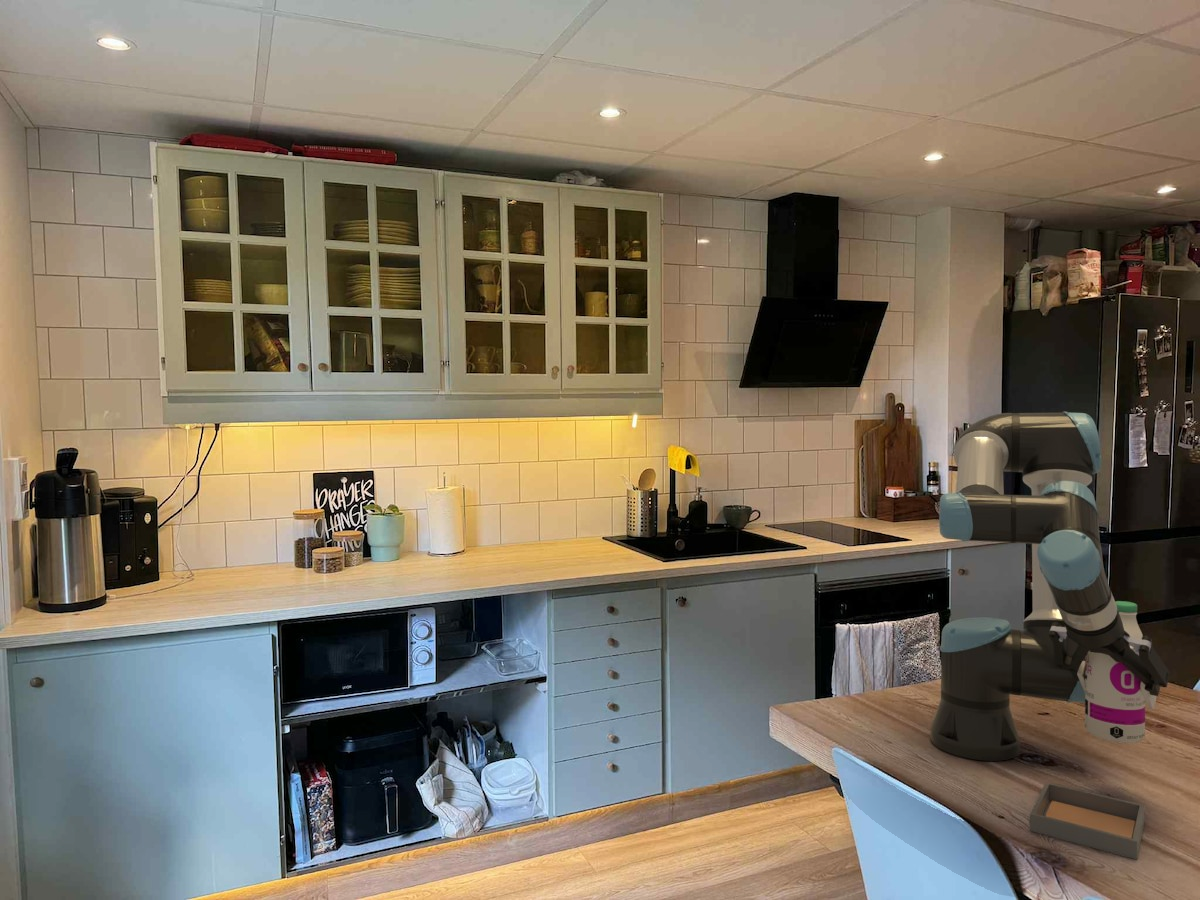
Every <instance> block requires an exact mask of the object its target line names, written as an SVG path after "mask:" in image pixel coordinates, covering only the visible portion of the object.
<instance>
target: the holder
mask: <svg viewBox="0 0 1200 900" xmlns="http://www.w3.org/2000/svg"><path fill="white" fill-rule="evenodd" d="M1050 801H1051V803H1050V804H1049V807H1048V803H1049V802H1050ZM1047 807H1048V809H1047V811H1046V814H1045V815H1044V812H1045V810H1046V808H1047ZM1145 810H1146V804H1142V803H1137V802H1134V801H1133V802H1132V801H1129V800H1124V799H1120V798H1117V797H1111V796H1107V795H1103V794H1097V793H1093V792H1091V791H1085V790H1082V789H1079V788H1078V789H1077V788H1073V787H1069V786H1064V785H1060V784H1056V783H1053V782H1047V781H1045V783H1044V785H1043V787H1042V789H1041V791H1040V793H1039V795H1038V797H1037V799H1036V801H1035V804H1034V805H1033V807H1032V809H1031V811H1030V814H1029V831H1030V832H1034V833H1038V834H1041V835H1045V836H1048V837H1052V838H1055V839H1060V840H1063V841H1067V842H1070V843H1073V844H1078V845H1080V846H1081V845H1082V846H1085V847H1089V848H1093V849H1096V850H1101V851H1105V852H1108V853H1112V854H1114V855H1118V856H1123V857H1125V858H1129V859H1134V860H1138V855H1139V851H1140V846H1141V845H1140V844H1141V841H1142V837H1143V830H1144V826H1145V819H1146V818H1145V816H1146V815H1145V813H1146V811H1145Z"/></svg>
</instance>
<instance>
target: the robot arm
mask: <svg viewBox="0 0 1200 900" xmlns="http://www.w3.org/2000/svg"><path fill="white" fill-rule="evenodd" d="M1099 437H1100V436H1099V432H1098V429H1097V426H1096V423H1095V421H1094V419H1093V418H1092V417H1091V415H1089V414H1088V413H1084V412H1068V411H1062V412H1024V413H1023V412H1017V413H1015V412H1013V413H1012V412H1002V413H997V414H996V413H995V414H994V415H989V416H987V417H984V418H982V419H980V420H977V421H976V422H974V423H973V424H971V425H969V426H968V427H967V428H966V429H965V430H963V431H962V432H961V434H960V435H959V436H958V438H957V440H956V442H955V445H954V449H953V460H954V462H955V464H956V466H957V475H956V482H955V491H954V493H951V492H950V493H948V492H947V493H944V494H942V495H941V496H940V498H939V509H938V510H939V512H938V513H939V515H938V519H939V522H938V523H939V525H938V526H939V534H940V535H941V537H942V538H944V539H947V540H957V541H962V542H986V543H987V542H988V543H990V542H991V543H1012V544H1014V543H1015V544H1031V553H1032V554H1031V558H1032V559H1031V562H1032V565H1031V568H1032V569H1031V572H1032V573H1031V577H1032V579H1031V581H1032V584H1031V585H1032V588H1031V589H1032V590H1031V591H1032V595H1031V596H1032V612H1030V614H1029V615H1028V616H1027V617H1025V619H1023V625H1022V627H1023V628H1022V629H1012V625H1011V624H1010V622H1009V621H1008V620H1007V619H1003V618H995V617H988V616H987V617H986V616H985V617H984V616H982V617H979V616H978V617H966V618H960V619H956V620H952V621H950V622H948V623H946V624H945V625H944V626H943V628H942V631H941V642H940V643H941V644H940V646H939V650H940V652H941V653H940V655H941V659H940V661H941V662H940V663H941V664H940V666H941V667H940V668H941V669H940V700H939V703H938V706H937V708H936V711H935V714H934V717H933V720H932V723H931V725H930V742H931V743H932V744H933V745H934V746H935V747H936V748H938V749H940V750H942V751H944V752H946V753H948V754H951V755H953V756H957V757H961V758H965V759H970V760H977V761H986V762H994V761H995V762H999V761H1007V760H1011V759H1014V758H1016V757H1017V756H1018V755H1020V753H1021V739H1020V736H1019V732H1018V730H1017V726H1016V723H1015V720H1014V717H1013V714H1012V711H1011V709H1010V708H1011V706H1010V695H1012V696H1019V697H1028V698H1029V697H1030V698H1035V699H1036V698H1038V699H1043V700H1051V701H1052V700H1053V701H1060V702H1061V701H1062V702H1066V703H1067V704H1070V703H1080V704H1081V703H1082V704H1085V657H1086V655H1087V653H1088V652H1089V651H1090V652H1094V653H1103V654H1106V655H1109V656H1110V657H1111V658H1112V659H1114V660H1115V661H1116V662H1121V663H1122V664H1123V665H1124V666H1125V667H1126V668H1127V669H1128V670H1129V671H1130V672H1132V673H1133V674H1134V675H1135V676H1136V677H1137V678H1138V679H1139V680H1140V681H1141V684H1140V688H1141V691H1142V693H1143V696H1144V698H1145V705H1146V707H1147V710H1150V711H1151V710H1152V711H1154V710H1155V706H1156V702H1157V698H1158V696H1159V694H1160V689H1161V688H1167V687H1168V683H1169V679H1170V676H1171V672H1170V670H1169V669H1168V667H1167V666H1166V664H1165V663H1164V662H1163V659H1161V657H1160V655H1159V654H1158V652H1157V651H1156V650H1155V648H1154V646H1153V641H1152V640H1153V639H1152V637H1151V636H1149V635H1143V636H1142V639H1137V638H1133V637H1130V635H1129V634H1128V633H1127V632H1126V631H1125V630H1124V627H1123V623H1122V620H1121V617H1120V614H1119V612H1118V609H1117V605H1116V603H1115V601H1116V600H1115V598H1114V596H1113V593H1112V590H1111V588H1110V585H1109V582H1108V579H1107V576H1106V575H1107V574H1106V571H1105V568H1104V561H1103V560H1104V559H1103V551H1102V545H1101V539H1100V538H1101V537H1100V527H1099V511H1098V509H1097V503H1096V500H1095V499H1096V498H1095V495H1094V493H1093V492H1092V490H1091V489H1090V488H1088V486H1089V485H1090V484H1091V483H1092V482H1093V475H1096V474H1098V473H1100V472H1101V469H1102V455H1101V443H1100V438H1099ZM1004 472H1012V473H1014V472H1015V473H1022V481H1023V483H1024V484H1025V485H1026V486H1027V487H1029V488H1030V490H1031V494H1029V495H1027V494H1025V495H1024V494H1005V492H1004ZM1130 646H1132V647H1133V648H1134V649H1135V650H1136V651H1135V652H1134V651H1133V650H1132V649H1131V648H1130ZM1137 654H1139V655H1137Z"/></svg>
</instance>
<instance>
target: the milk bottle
mask: <svg viewBox="0 0 1200 900" xmlns="http://www.w3.org/2000/svg"><path fill="white" fill-rule="evenodd" d="M1115 603H1116V605H1117V609H1118V612H1119V614H1120V617H1121V620H1122V623H1123V627H1124V630H1125V631H1126V632H1127V633H1128V634H1129V635H1130V637H1133V638H1137V639H1142V636H1144V635H1143V633H1142V630H1141V629H1140V626H1139V624H1138V620H1137V615H1138V604H1137V603H1134V602H1131V601H1126V600H1124V601H1122V600H1117V601H1116V600H1115Z"/></svg>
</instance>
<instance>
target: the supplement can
mask: <svg viewBox="0 0 1200 900" xmlns="http://www.w3.org/2000/svg"><path fill="white" fill-rule="evenodd" d="M1130 648H1131V649H1132V650H1133V651H1134V652H1135V651H1136V650H1135V649H1134V648H1133V647H1132V646H1130ZM1137 655H1139V654H1137ZM1140 684H1141V681H1140V680H1139V679H1138V678H1137V677H1136V676H1135V675H1134V674H1133V673H1132V672H1130V671H1129V670H1128V669H1127V668H1126V667H1125V666H1124V665H1123V664H1122V663H1121V662H1116V661H1115V660H1114V659H1112V658H1111V657H1110V656H1109V655H1106V654H1103V653H1094V652H1090V651H1089V652H1088V653H1087V655H1086V657H1085V703H1084V728H1085V729H1086V730H1087V731H1088V732H1089V734H1091V735H1092V736H1094V737H1095V738H1097V739H1100V740H1103V741H1109V742H1113V743H1120V744H1135V743H1139V742H1140V741H1141V740H1142V739H1145V737H1146V702H1145V698H1144V696H1143V693H1142V691H1141V688H1140Z"/></svg>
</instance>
